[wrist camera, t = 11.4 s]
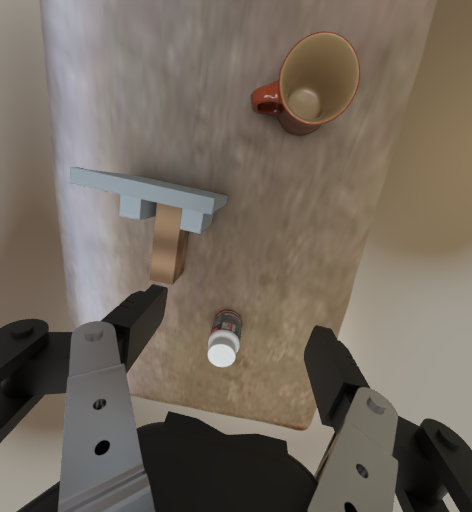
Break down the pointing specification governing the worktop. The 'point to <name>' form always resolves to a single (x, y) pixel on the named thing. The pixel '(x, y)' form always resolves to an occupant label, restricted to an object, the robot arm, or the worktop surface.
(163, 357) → the worktop surface
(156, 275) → the bed rail
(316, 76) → the mug
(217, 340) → the pill bottle
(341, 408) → the robot arm
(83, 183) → the grey two-legged bench
